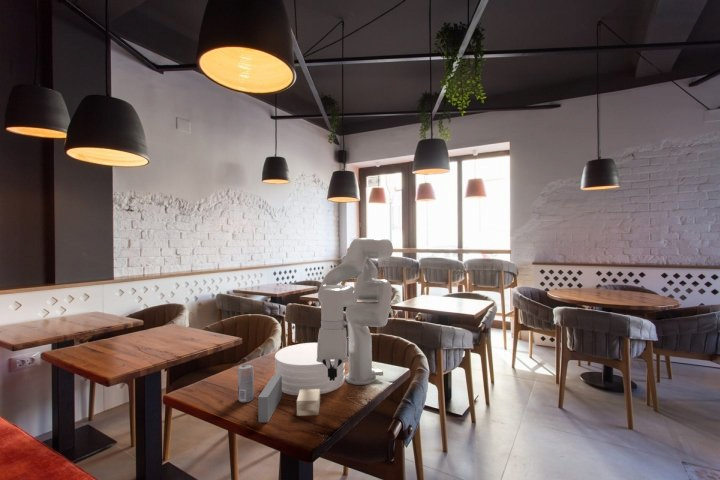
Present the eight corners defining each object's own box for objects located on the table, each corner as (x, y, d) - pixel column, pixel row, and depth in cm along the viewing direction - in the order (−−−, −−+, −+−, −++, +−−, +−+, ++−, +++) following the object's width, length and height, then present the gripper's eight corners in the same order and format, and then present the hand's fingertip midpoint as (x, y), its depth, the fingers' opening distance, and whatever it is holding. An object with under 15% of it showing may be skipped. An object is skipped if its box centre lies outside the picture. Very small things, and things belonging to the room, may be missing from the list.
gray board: (281, 396, 130) (281, 375, 130) (267, 422, 112) (267, 397, 112) (273, 396, 130) (273, 375, 130) (258, 422, 112) (258, 397, 112)
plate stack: (356, 374, 150) (356, 347, 150) (320, 402, 125) (319, 369, 125) (303, 364, 163) (302, 339, 163) (260, 387, 138) (259, 358, 138)
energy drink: (248, 394, 132) (248, 362, 132) (256, 398, 128) (256, 365, 128) (235, 399, 127) (234, 366, 127) (243, 404, 124) (243, 370, 124)
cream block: (320, 402, 125) (319, 388, 125) (318, 415, 116) (318, 400, 116) (300, 403, 125) (300, 389, 125) (296, 416, 116) (296, 401, 116)
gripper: (354, 322, 123) (354, 375, 123) (312, 322, 124) (312, 375, 123) (353, 327, 116) (354, 383, 115) (308, 327, 116) (308, 383, 116)
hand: (332, 379), depth 119 cm, fingers closed
